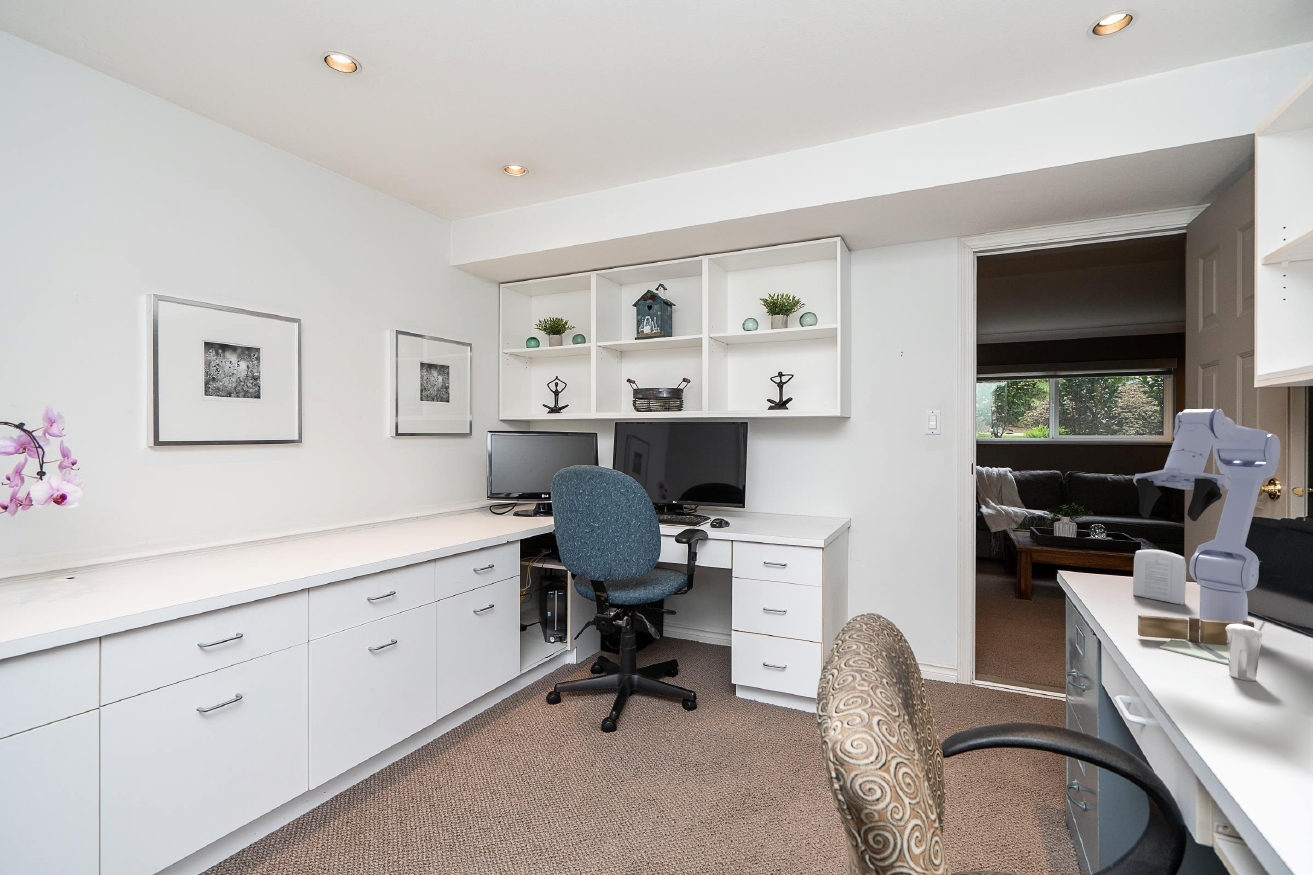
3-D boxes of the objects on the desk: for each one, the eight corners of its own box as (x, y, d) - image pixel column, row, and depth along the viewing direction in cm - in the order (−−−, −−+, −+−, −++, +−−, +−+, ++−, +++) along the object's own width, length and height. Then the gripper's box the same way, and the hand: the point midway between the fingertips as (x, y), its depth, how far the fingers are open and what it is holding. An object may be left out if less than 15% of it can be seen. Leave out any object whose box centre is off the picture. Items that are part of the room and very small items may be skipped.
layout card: (1184, 632, 125) (1184, 630, 125) (1257, 648, 116) (1257, 646, 116) (1160, 648, 117) (1159, 646, 117) (1236, 666, 108) (1236, 665, 108)
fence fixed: (1186, 641, 120) (1187, 616, 120) (1250, 646, 118) (1250, 620, 117) (1191, 643, 119) (1191, 619, 119) (1255, 649, 116) (1256, 623, 116)
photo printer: (1187, 602, 146) (1188, 552, 146) (1182, 605, 144) (1183, 555, 143) (1136, 593, 155) (1136, 545, 154) (1130, 595, 152) (1131, 547, 152)
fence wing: (1184, 637, 120) (1184, 618, 120) (1188, 639, 119) (1188, 620, 119) (1137, 634, 122) (1138, 614, 122) (1141, 636, 121) (1141, 616, 121)
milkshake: (1274, 684, 100) (1275, 625, 100) (1237, 681, 101) (1238, 623, 101) (1253, 673, 105) (1254, 617, 105) (1217, 670, 106) (1219, 615, 106)
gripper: (1135, 447, 123) (1114, 501, 119) (1225, 446, 110) (1205, 506, 106) (1151, 468, 125) (1131, 521, 121) (1241, 468, 112) (1222, 529, 108)
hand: (1166, 516), depth 114 cm, fingers open, 7 cm apart
